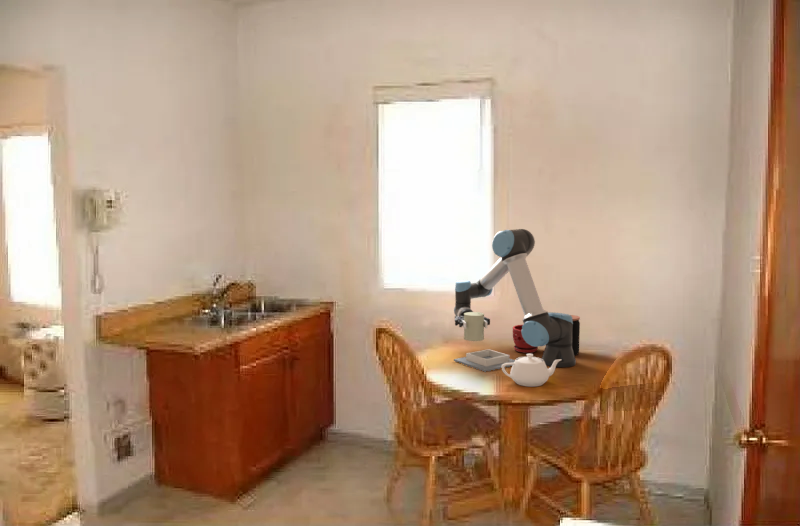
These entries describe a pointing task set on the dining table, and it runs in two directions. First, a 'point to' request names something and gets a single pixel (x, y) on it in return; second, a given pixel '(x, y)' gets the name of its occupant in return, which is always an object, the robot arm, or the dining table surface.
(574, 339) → the coffee jar
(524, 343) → the plant pot
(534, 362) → the teapot
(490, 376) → the dining table surface
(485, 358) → the tray
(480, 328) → the can
